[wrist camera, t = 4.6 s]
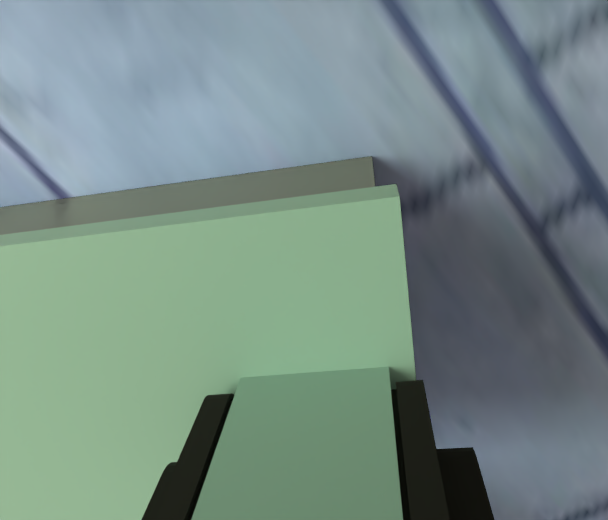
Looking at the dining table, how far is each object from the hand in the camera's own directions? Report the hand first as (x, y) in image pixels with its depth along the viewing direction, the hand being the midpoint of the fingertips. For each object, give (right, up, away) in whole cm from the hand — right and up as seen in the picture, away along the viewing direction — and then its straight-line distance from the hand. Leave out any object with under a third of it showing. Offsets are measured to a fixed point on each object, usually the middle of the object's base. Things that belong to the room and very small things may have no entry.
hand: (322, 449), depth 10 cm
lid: (-5, 0, +2) cm, 5 cm away
